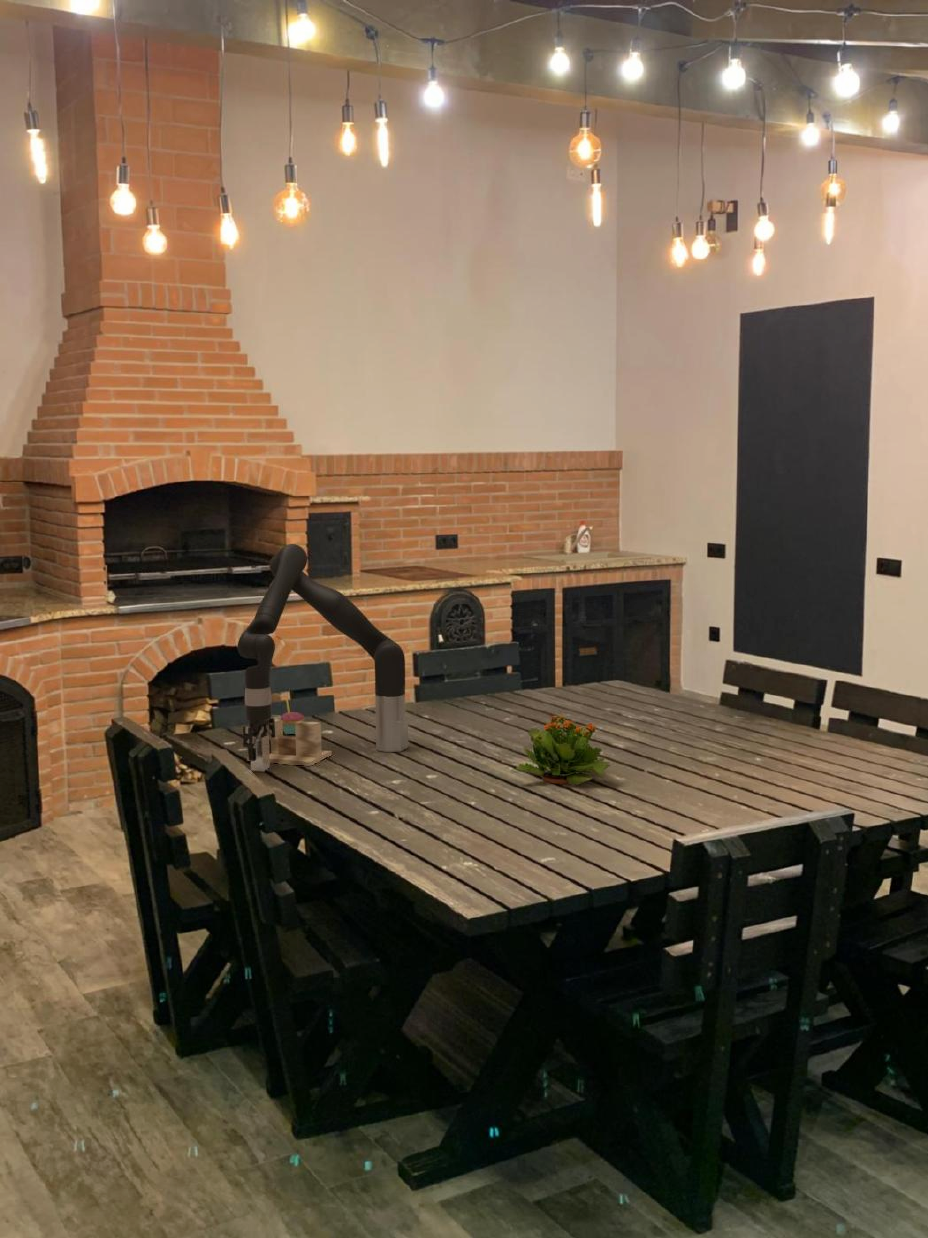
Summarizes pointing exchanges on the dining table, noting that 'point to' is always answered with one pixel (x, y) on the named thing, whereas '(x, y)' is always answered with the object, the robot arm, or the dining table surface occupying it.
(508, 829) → the dining table surface
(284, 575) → the robot arm
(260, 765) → the grey square bottle
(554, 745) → the potted flower
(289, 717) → the cupcake
